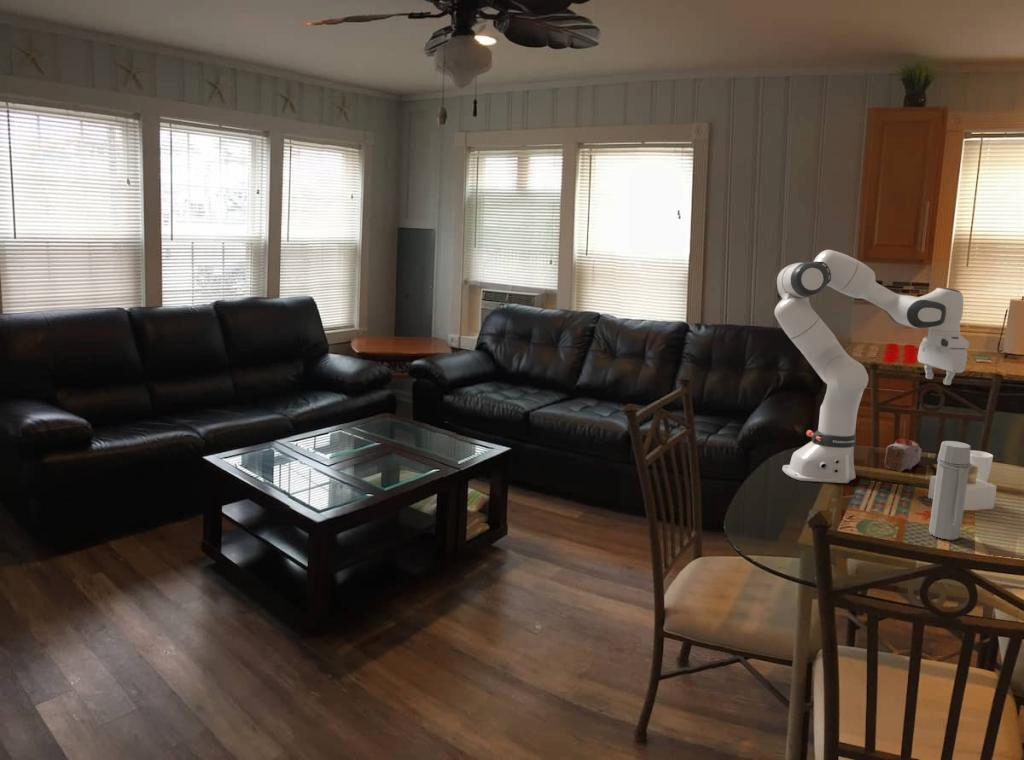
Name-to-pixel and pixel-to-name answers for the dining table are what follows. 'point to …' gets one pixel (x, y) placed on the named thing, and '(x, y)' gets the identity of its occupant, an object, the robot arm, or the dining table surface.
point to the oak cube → (972, 474)
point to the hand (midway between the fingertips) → (937, 381)
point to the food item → (902, 455)
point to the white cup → (981, 463)
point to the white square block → (973, 494)
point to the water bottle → (950, 490)
